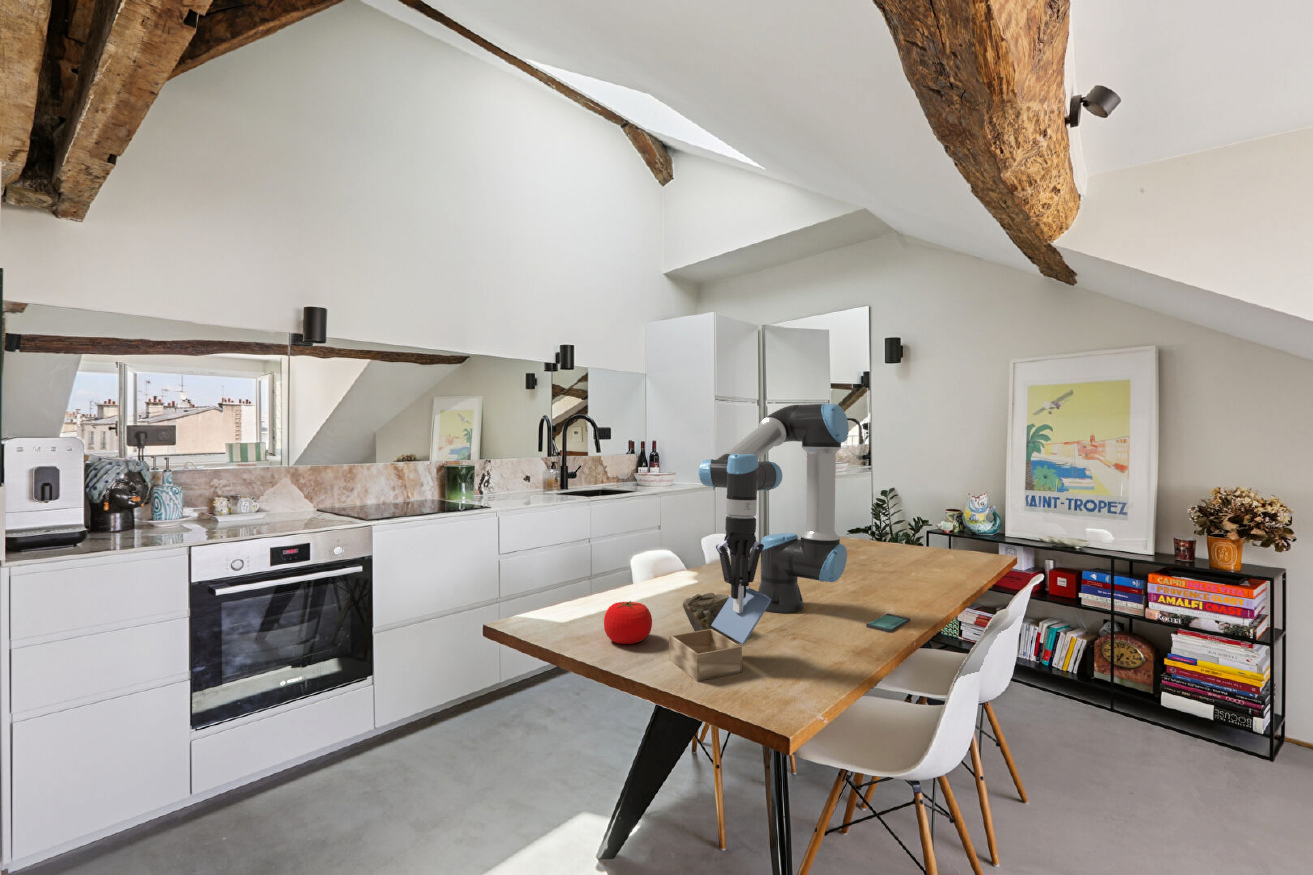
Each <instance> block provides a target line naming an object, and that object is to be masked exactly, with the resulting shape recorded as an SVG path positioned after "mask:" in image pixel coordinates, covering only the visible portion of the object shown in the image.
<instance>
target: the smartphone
mask: <svg viewBox="0 0 1313 875" xmlns="http://www.w3.org/2000/svg"><path fill="white" fill-rule="evenodd" d="M909 622H911V618H909V617H905V616H901V615H899V614H898V615H897V614H891V613H886V614H884V615H882V616H879V617H877V618H875V619H874V620H872V621H870V622H868V623H866V625H865V627H866V628H867V629H872V630H876V631H881V632H884V633H887V634H888V633H893V632H895V631H896V630H897V629H900V628H901V627H903V626H904V625H906V624H908V623H909Z"/></svg>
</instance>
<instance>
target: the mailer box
mask: <svg viewBox="0 0 1313 875" xmlns="http://www.w3.org/2000/svg"><path fill="white" fill-rule="evenodd" d="M668 637H669V638H668V639H669V640H668V641H669V645H668V647H669V648H668V649H669V658H668V659H669V661H670V662H672V663H673V664H674V665H675V666H676V667H678V668H679V669H681V670H682V671H683V672H684V673H685V674H687V676H689V677H691V678H692V679H693V680H695V681H696V682H701V681H705V680H711V679H717V678H720V677H726V676H729V675H733V674H734V675H735V674H740V673H743V646H741V645H740V644H738V643H736V642H734V641H733V640H731V638H729V639H728V638H726V637H725V636H723V635H721V634H719V633H718V632H716V631H714V630H713V629H707V630H701V631H691V632H690V631H689V632H683V633H677V634H671V635H669V636H668Z"/></svg>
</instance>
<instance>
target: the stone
mask: <svg viewBox="0 0 1313 875" xmlns="http://www.w3.org/2000/svg"><path fill="white" fill-rule="evenodd" d="M729 597H730V596H729V595H727V594H721V593H718V594H715V593H714V592H708V593H703V594H701V593H697V594H695V595H694V596H692V597H687V598H685V599H684V601H683V602H682V608H683V610H684V612H685V615H686V617H687V618H688V621H689V624H690V625H691V627H692V629H693V632H695V631H701V630H707V629H713V630H714V631H716V632H718V633H719V634H721V635H723V636H725V637H726V638H728V639H731V637H730V636H728V635H726V634H724V633H723V632H721V631H719V630H718V629H716V628H714V627H712V626H711V625H712V623H713V622H714V620H715V619H716V617H717V615H718V614H719V612H720V611H721V609H722V608H723V606H724V605H725V603H726V602H727V600H728V599H729Z"/></svg>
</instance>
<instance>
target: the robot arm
mask: <svg viewBox="0 0 1313 875" xmlns="http://www.w3.org/2000/svg"><path fill="white" fill-rule="evenodd" d="M848 435H849V421H848V416H847V415H846V412H845V410H844V408H842V406H840V405H839V404H836V403H813V404H812V403H811V404H792V405H788V406H784V407H782V408H779V409H778V410H776V411H773V412H772V413H771V414H769V415H767V416H766V417H764V418H763V419H762V420H761V421H760V422H759V423H758V426H757V428H755V429H754V430H753V431H751V432H749V434H748V435H747V436H745V437H744V438H743V439H741V440H740V441H739V442H738V443H736V444H735V445H734V446H732V447H731V448H729V449H728V451H726V452H725V453H723V454H722V455H721V456H720V457H718V458H716V459H713V458H711V459H705V460H704V459H703V461H702V462H701V463H700V465H699V466H698V467H699V468H698V479H699V481H700V483H701V484H702V485H703V486H706V487H711V488H720V489H721V488H723V489H725V488H726V499H725V501H726V502H725V514H726V515H727V516H726V517H725V536H724V539H723V540H724V541H723V542H722V543H720V544H716V545H715V548H716V551H717V553H718V554H719V560H720V564H721V569H722V575H723V580H724V582H725V583H728V584H729V585H730V587H731V588H730V596H731V597H732V598H733V610H734V611H736V612H738V613H743V598H745V597H746V587H749V586H750V584H751V583H753V582H754V580H755V576H756V571H757V569H758V564H759V560H760V583H759V586H758V589H757V591H758V592H760V593H763V594H765V595H767V596H768V597H769V598H770V599H772V600H771V602H770V604H769V605H768V607H767V609H766V610H765V612H770V613H771V612H772V613H779V614H781V613H782V614H783V613H784V614H785V613H786V614H788V613H795V612H799V611H802V610H803V609H804V599H803V597H802V593H801V589H800V586H799V582H798V581H799V580H798V578H802V579H806V580H813V581H818V582H822V583H823V582H827V583H835V582H838V581H839V580H840V578H842V575H843V573H844V571H845V569H846V566H847V560H848V551H847V547H846V546H845V545H843V544H842V543H841V540H840V539H841V538H840V536H839V535H838V534H837V533H836V529H835V528H836V527H835V526H836V523H835V522H836V474H837V473H836V464H837V463H836V462H837V461H836V459H837V456H836V454H837V452H839V451H840V450H841V449H842V443H845V442H846V441H847V440H848V437H849V436H848ZM787 442H789V443H790V442H801V448H802V449H803V450H804V451H805V452H806V488H805V489H806V490H805V491H806V495H805V497H806V499H805V502H806V503H805V508H806V509H805V531H803V533H802V534H800V539H799V534H797V533H795V532H794V533H792V532H785V533H773V534H768V535H765V536H764V537H762V538H761V540H760V542H759V541H757V537H756V531H757V518H756V516H757V508H758V507H757V506H758V491H767V492H769V491H770V490H774V489H776V488H778V487H780V485H781V483H782V480H783V471H782V469H781V467H780V466H779V464H777V463H776V462H774V461H771V460H770V461H769V460H764V461H759V460H760V459H761V458H762V457H763V456H765V454H767V452H769V451H770V450H771V449H772V448H774V447H779V446H781V445H782V444H784V443H787ZM728 551H729V552H728Z"/></svg>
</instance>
